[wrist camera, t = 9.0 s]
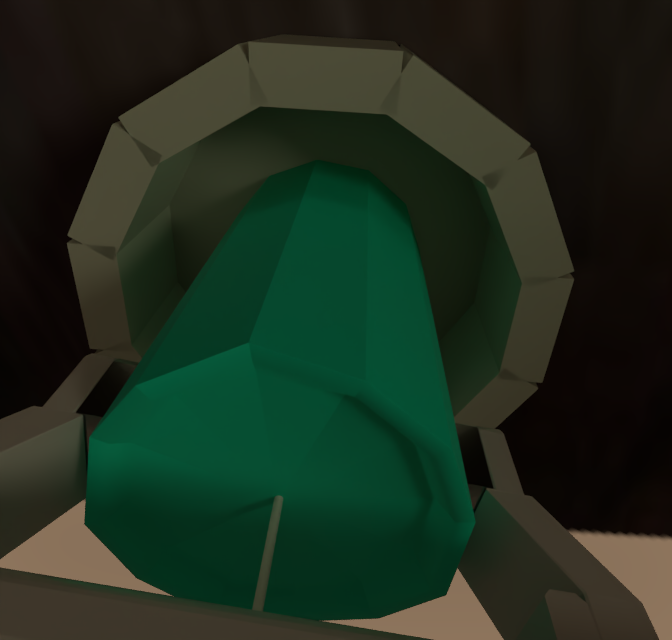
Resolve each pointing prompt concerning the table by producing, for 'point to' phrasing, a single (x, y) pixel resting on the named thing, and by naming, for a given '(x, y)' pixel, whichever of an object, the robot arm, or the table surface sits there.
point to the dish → (346, 149)
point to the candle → (292, 418)
